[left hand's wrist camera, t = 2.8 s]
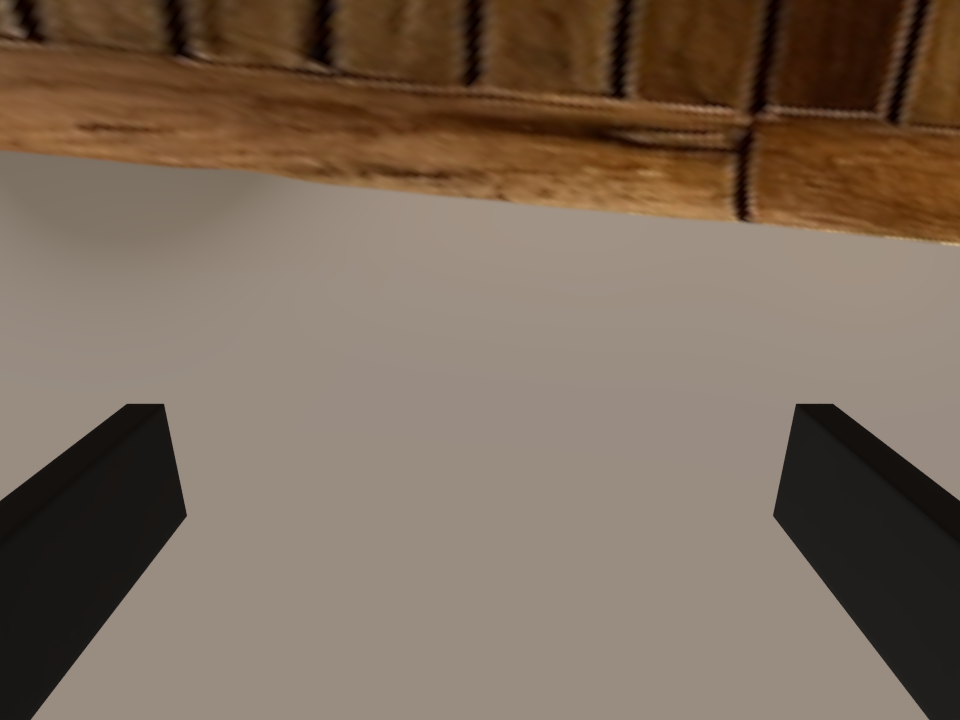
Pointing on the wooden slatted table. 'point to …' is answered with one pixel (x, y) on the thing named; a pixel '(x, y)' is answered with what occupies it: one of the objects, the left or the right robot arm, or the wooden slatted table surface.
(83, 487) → the left robot arm
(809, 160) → the wooden slatted table surface
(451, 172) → the wooden slatted table surface
